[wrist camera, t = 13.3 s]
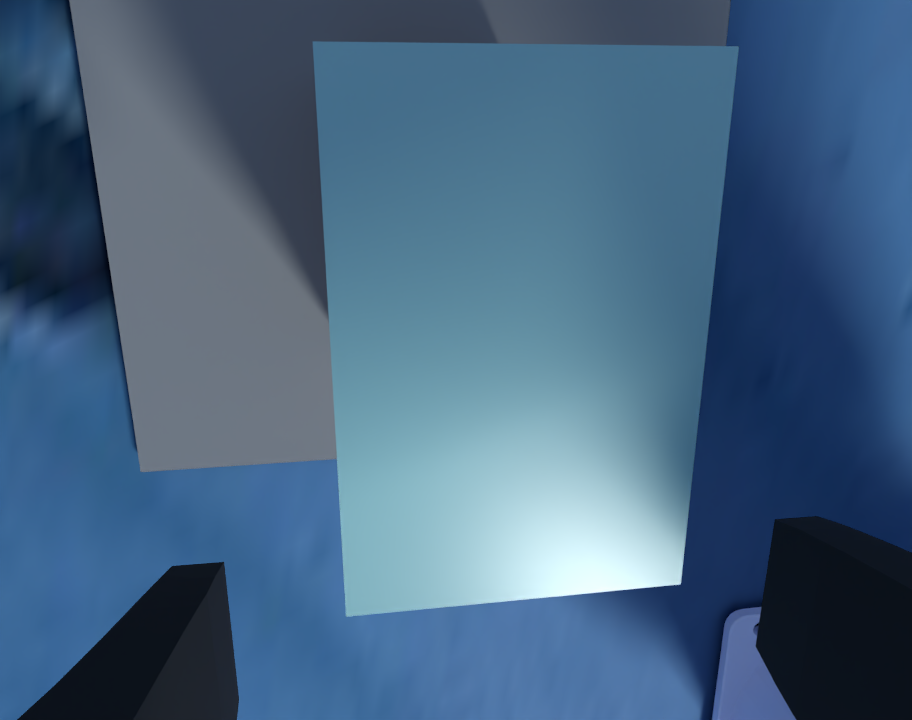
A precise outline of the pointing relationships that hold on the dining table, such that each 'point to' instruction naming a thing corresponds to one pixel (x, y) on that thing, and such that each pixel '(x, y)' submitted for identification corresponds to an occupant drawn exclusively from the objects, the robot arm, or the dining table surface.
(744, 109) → the dining table surface
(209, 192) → the build mat
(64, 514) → the dining table surface
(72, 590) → the dining table surface
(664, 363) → the teal brick
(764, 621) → the robot arm
